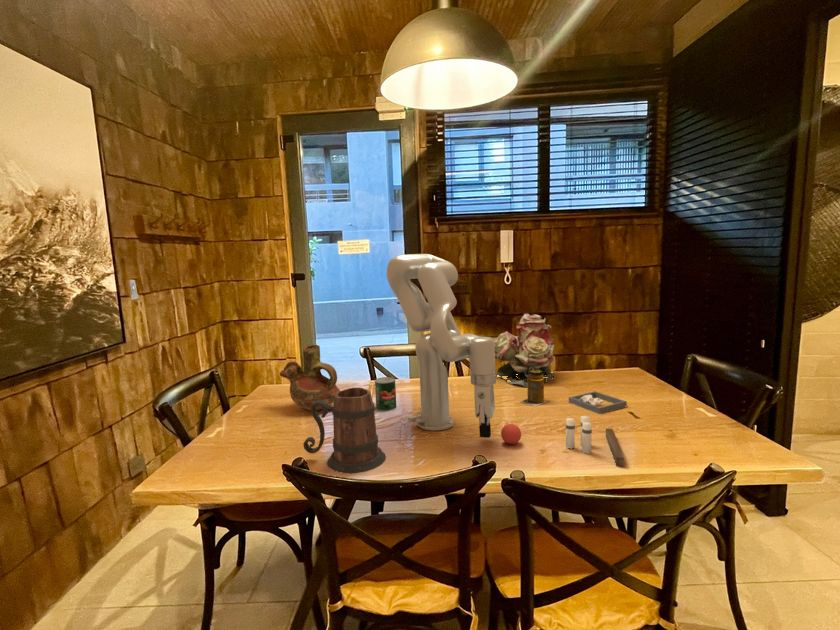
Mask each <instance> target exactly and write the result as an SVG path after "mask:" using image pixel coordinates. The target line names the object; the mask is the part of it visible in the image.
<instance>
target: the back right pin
mask: <svg viewBox="0 0 840 630" xmlns="http://www.w3.org/2000/svg"><path fill="white" fill-rule="evenodd" d="M592 427H593V425H592V423H591V422H590V423H589V422H583V424H582V445H581V446H582V447H581V450H582V453H583V454H585V453H587V454H586V455H590V454H589V453H591V454H592V431H593V428H592Z"/></svg>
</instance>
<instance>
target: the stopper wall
mask: <svg viewBox="0 0 840 630" xmlns="http://www.w3.org/2000/svg"><path fill="white" fill-rule="evenodd" d="M605 438H606V442H607V444H608V447H609V450H610V452H612V453H611V456H612V455H613V456H612V458H613V461H614V460H615V461H614V464H615V463H616V464H615V467H622V466H624V467H625V462H626V461H625V459H626V457H625V456H624V452H623V451H622V449H621V446H620V443H619V441H618V438H617V436H616V433H615V432H614V429H613V428H605Z"/></svg>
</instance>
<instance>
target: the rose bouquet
mask: <svg viewBox="0 0 840 630" xmlns="http://www.w3.org/2000/svg"><path fill="white" fill-rule="evenodd" d="M542 318H543V317H542V316H541V315H539V314H535V313H534V314H530V313H523V316H522V317H521V318H520V320H519V322H518V323H517V324H516V325H515V326H516V330H517V336H516V335H513V334H512V333H510V332H508V331H507V330H506V331H504V332H502V333H500V334H499V335H498V336H497V338H496V340H494V345H495V360H497V364H498V363H501V362H507V361H508V362H507V363H503V365H502V366H500V367H499V368H498V369H497V371H496V376H497V375H499V376H508V377H516V376H517V377H518V378H524V379H523V380H524V381H521V380H522V379H519V380H515V379H516V378H514V379H506V380H510V381H511V382H509V383H508V384H509V385H514V384H515V385H520V386H522V387H524V388H526V389H528V380H527V379H526V378H528V377H529V376H528V375H529V373H528V372H529V371H530V370H541V371H542V372H543V377H548V378H543V379H544V384H551V383H550V381H547V382H546V379H547V380H556V378H555V374H554V373H552V372H551V370H550V367H551V366H550V364H552V363H553V362H555V359H554V356H553V355H554V349H555V344H554V343H553V340H555V338H554V337H552V338H551V335H550V330H551V329H552V325H549V324H546V320H547V318H546V317H544V318H543V319H542ZM516 374H518V375H516ZM544 375H546V376H544ZM518 378H517V379H518ZM552 378H553V379H552ZM506 380H505V381H506Z"/></svg>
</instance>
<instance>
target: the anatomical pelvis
mask: <svg viewBox="0 0 840 630" xmlns="http://www.w3.org/2000/svg"><path fill="white" fill-rule="evenodd" d="M579 400H580V401H583V402H586V403H589V404H592V405H594V406H597V405H599V404H603V403H604V402H605V400H602V399H599V398H596V397H592V395H585V396H583V397H582V398H581V399H579Z"/></svg>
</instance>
